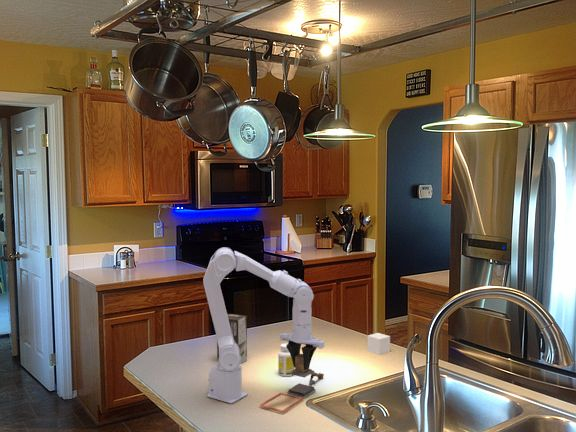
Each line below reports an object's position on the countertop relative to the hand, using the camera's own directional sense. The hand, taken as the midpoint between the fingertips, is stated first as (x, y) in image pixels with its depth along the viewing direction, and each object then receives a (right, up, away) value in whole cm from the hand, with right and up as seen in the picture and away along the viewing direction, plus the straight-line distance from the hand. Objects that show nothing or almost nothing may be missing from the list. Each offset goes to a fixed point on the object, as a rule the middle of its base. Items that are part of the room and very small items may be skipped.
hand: (301, 367), depth 163 cm
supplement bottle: (-5, -7, +17) cm, 19 cm away
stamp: (0, -2, 0) cm, 2 cm away
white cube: (+30, -6, +41) cm, 51 cm away
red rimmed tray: (-6, -9, -8) cm, 13 cm away
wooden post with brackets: (+5, -8, +10) cm, 13 cm away
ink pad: (0, -8, +1) cm, 8 cm away
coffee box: (-24, -6, +29) cm, 38 cm away
